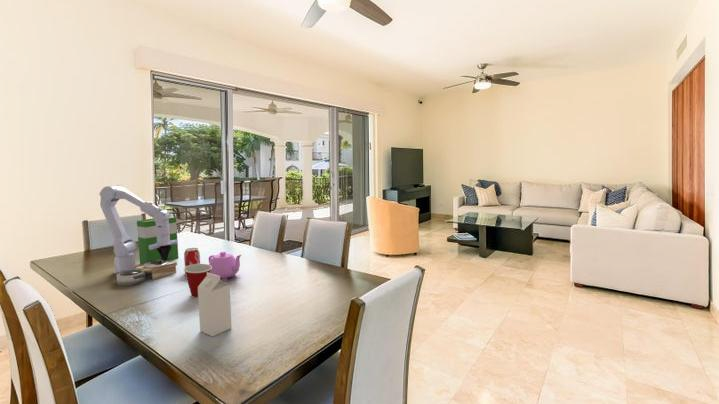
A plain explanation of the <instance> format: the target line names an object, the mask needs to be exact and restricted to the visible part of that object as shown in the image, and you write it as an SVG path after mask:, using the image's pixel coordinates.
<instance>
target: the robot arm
mask: <svg viewBox="0 0 719 404" xmlns="http://www.w3.org/2000/svg"><path fill="white" fill-rule="evenodd" d="M99 196H100V200H99V201H100V203H99V204H100V208H101V211H102V213H103V216H104V217H105V220H106V222H107V224H108V227H109V229H110V232H111V234H112V236H113V238H114V240H113V242H112V246H113V253H114V254H115V256H114V259H113V264H114V265H113V266H114V268H113V269H114V271H112V273H113V274H114V275H116V273H117V272H121V271H124V270H133V269H135V266H136V256H135V255H136V254H135V253H136V250H137V248H138V246H137V243H136V242H135V241H134V240H133V238H132V236H129V235H128V233H127V231H126V228H125V226H124V225H123V222H122V219H121V217H120V215H119V213H118V210H117V208H116V205H117V203H118V202H119V201H120V200H126V201H127V202H130V203H131V204H133V205H135V206H137V207H139V208H140V209H139V210H140V212H142V213H144V214H146V215H148V216H149V217H151V219H153V220H154V221H155V222H156V234H157V243H155V244H152V245H149V249H150V250H153V249H155V248H156V249H157V251H158V252H159V254H160V256H161V258H162V261H167V259H168V255H169V252H170V250H171V248H172V246H170V245H172V244H178V245H179V241H178V239H177V240H170V234H169V220H168V219H169V218H171V213H170V211H169V210H167V209H163V208H162V207H159V206H157V205H155V204H154V202H153V201H145V200H143V199H141V198H140V197H139V196H137V195H135V194H134V193H133V192H132V191H130V190H128V188H126V187H123V185H119V184H116V185H110V186H104V187H103V188H102V189H101V190H100V192H99Z"/></svg>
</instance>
